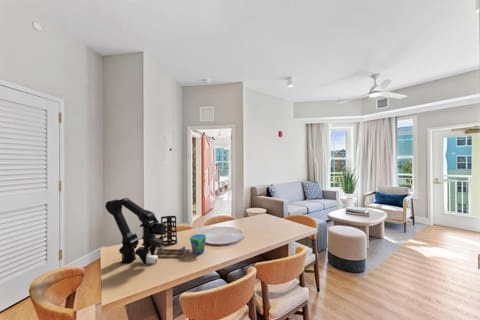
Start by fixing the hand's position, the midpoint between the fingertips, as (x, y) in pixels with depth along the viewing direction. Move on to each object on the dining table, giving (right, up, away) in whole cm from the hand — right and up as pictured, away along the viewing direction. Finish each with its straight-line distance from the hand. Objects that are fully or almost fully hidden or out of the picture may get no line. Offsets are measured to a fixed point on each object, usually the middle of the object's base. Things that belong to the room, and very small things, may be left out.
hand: (148, 260), depth 128 cm
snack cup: (+27, -1, +14) cm, 30 cm away
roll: (0, -2, 0) cm, 2 cm away
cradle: (+10, -1, +11) cm, 15 cm away
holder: (+2, -2, +30) cm, 30 cm away
